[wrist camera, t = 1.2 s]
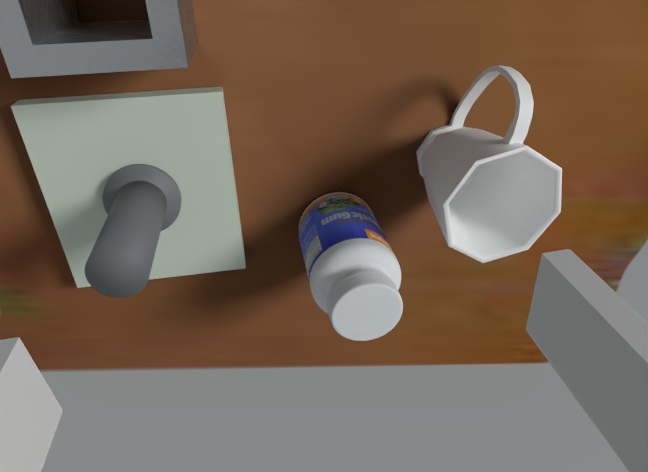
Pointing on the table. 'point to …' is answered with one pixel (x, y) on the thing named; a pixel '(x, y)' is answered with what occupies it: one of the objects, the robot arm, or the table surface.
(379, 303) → the pill bottle
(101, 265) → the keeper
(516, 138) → the cup
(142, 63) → the hollow grey square tube
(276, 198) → the table surface
